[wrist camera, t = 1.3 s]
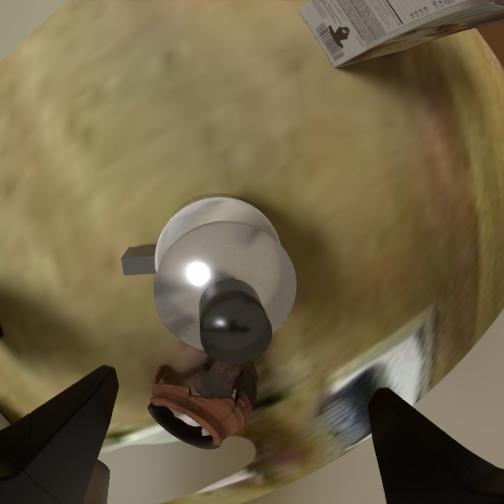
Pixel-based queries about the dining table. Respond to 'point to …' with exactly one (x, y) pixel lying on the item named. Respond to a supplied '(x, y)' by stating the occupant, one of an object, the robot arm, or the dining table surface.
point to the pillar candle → (98, 485)
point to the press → (189, 218)
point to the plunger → (225, 289)
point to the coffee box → (391, 24)
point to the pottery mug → (207, 403)
